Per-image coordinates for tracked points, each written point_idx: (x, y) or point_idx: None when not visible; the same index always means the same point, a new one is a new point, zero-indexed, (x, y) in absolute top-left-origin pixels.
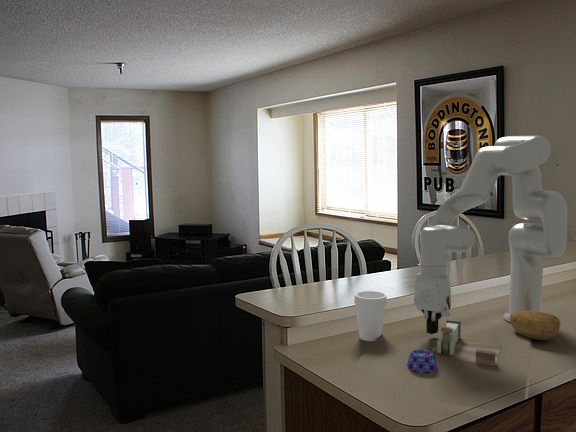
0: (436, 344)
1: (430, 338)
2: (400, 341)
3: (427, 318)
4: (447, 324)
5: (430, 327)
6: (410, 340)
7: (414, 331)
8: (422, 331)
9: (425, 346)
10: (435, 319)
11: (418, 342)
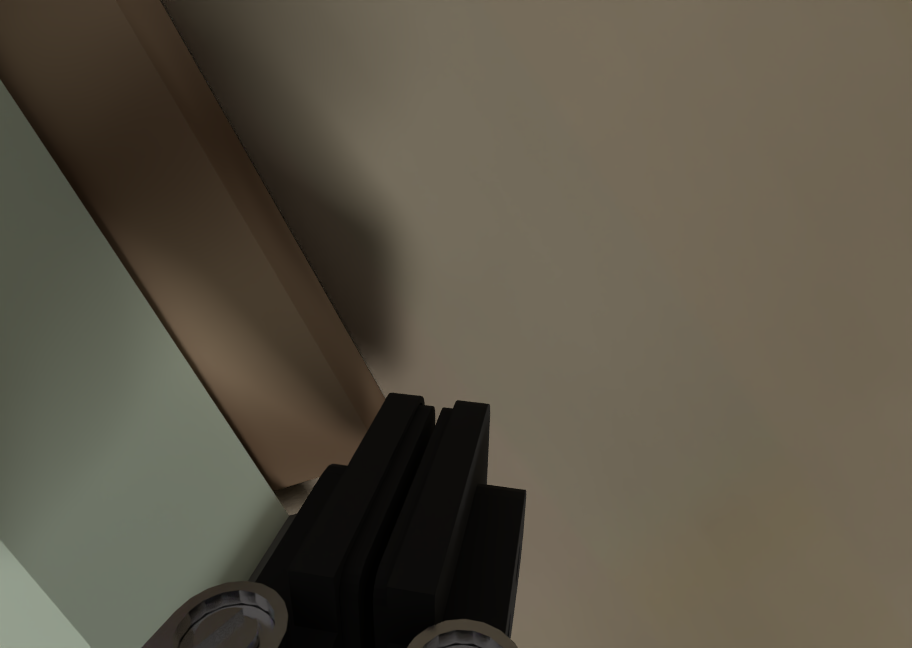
0: (201, 198)
1: (554, 478)
2: (873, 22)
3: (425, 642)
4: (52, 620)
5: (369, 462)
6: (740, 213)
7: (901, 586)
8: (797, 637)
9: (395, 150)
10: (177, 640)
11: (581, 226)
